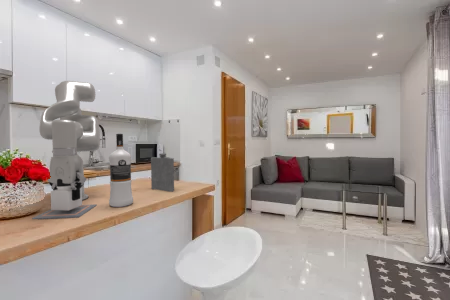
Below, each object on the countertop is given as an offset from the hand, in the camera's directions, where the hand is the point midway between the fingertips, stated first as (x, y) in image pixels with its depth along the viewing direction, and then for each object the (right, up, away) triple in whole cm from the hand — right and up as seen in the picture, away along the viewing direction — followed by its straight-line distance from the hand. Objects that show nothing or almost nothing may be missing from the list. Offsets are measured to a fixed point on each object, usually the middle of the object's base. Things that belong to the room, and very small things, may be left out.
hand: (67, 198), depth 87 cm
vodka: (+16, -5, +10) cm, 20 cm away
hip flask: (+26, -3, +39) cm, 47 cm away
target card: (0, -5, 0) cm, 5 cm away
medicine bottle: (0, -4, 0) cm, 4 cm away
